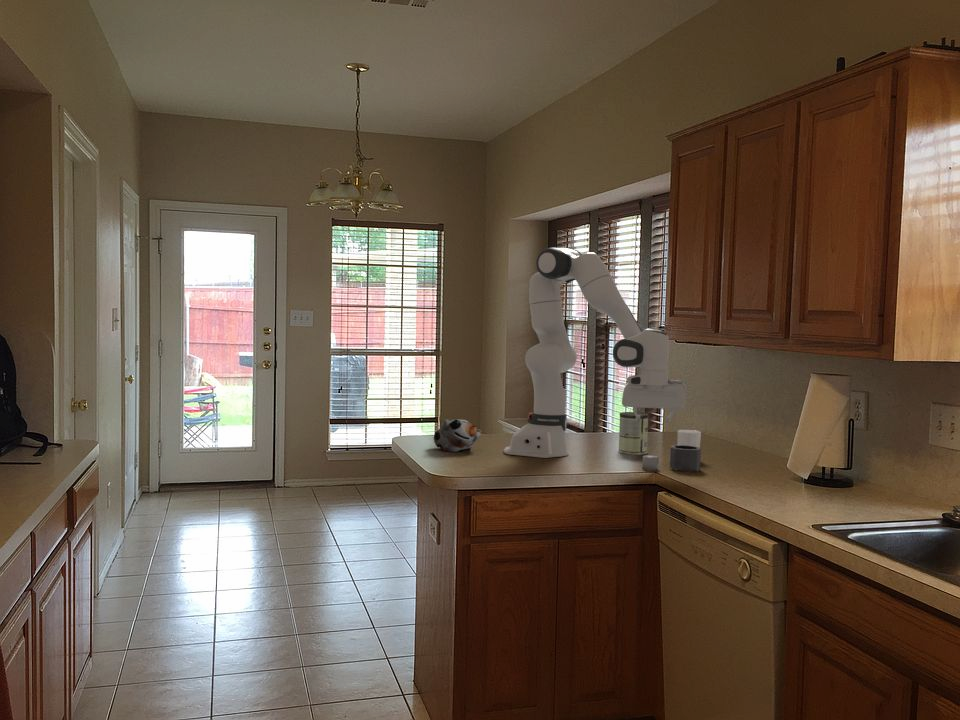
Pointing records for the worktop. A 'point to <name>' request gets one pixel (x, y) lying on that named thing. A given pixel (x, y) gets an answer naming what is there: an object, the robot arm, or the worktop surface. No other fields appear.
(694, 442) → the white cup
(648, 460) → the cap
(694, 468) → the dark grey cylinder
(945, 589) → the worktop surface
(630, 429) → the coffee can
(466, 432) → the lucky cat figurine
